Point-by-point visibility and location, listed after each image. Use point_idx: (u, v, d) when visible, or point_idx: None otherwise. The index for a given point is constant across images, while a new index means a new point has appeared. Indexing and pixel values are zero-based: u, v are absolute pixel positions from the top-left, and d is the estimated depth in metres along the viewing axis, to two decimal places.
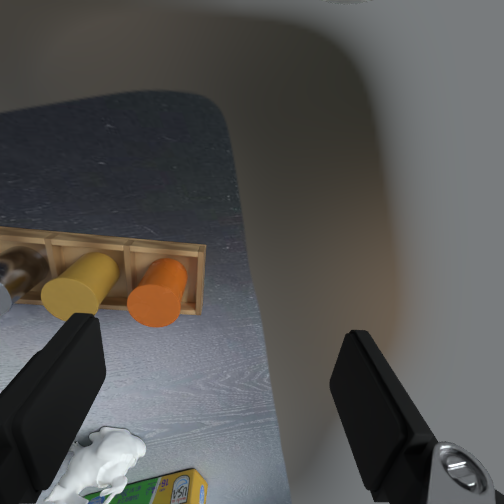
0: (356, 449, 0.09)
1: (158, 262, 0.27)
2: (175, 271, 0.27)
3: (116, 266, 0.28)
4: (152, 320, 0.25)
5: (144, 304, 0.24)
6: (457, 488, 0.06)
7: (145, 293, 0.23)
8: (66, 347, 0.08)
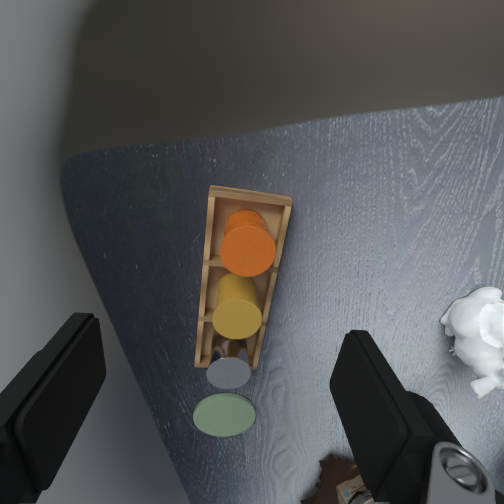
0: (356, 449, 0.09)
1: None
2: (229, 222, 0.25)
3: (231, 273, 0.29)
4: (265, 256, 0.23)
5: (244, 260, 0.23)
6: (457, 488, 0.06)
7: (230, 258, 0.22)
8: (66, 347, 0.08)
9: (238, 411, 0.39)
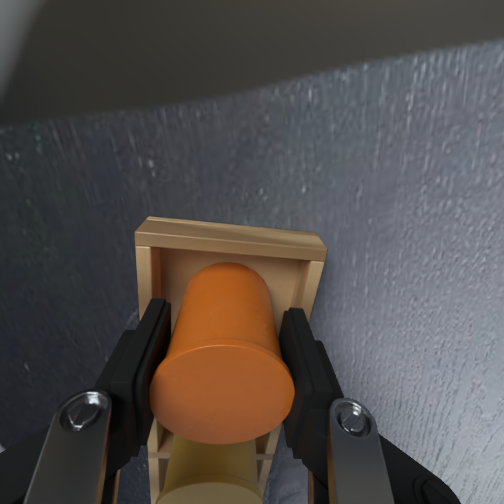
0: None
1: None
2: (186, 299, 0.11)
3: None
4: (269, 405, 0.09)
5: (214, 417, 0.09)
6: (352, 439, 0.07)
7: (178, 413, 0.09)
8: (155, 325, 0.09)
9: None
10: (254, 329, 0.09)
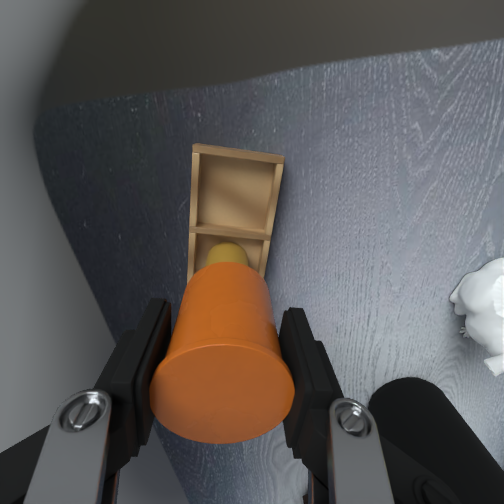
0: None
1: None
2: (185, 299, 0.11)
3: (221, 243, 0.27)
4: (268, 405, 0.09)
5: (214, 416, 0.09)
6: (352, 439, 0.07)
7: (178, 412, 0.09)
8: (155, 325, 0.09)
9: None
10: (254, 328, 0.09)
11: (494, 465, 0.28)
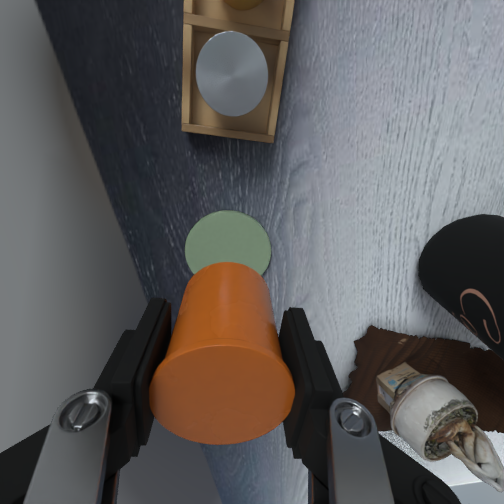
0: None
1: None
2: (186, 299, 0.11)
3: None
4: (269, 406, 0.09)
5: (214, 417, 0.09)
6: (352, 439, 0.07)
7: (178, 413, 0.09)
8: (155, 325, 0.09)
9: (247, 241, 0.28)
10: (254, 329, 0.09)
11: None
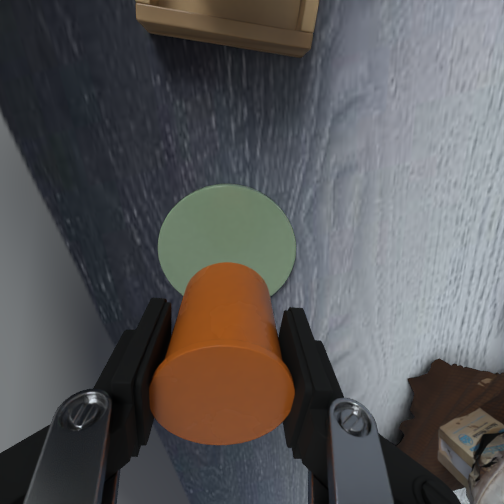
0: None
1: None
2: (185, 300, 0.11)
3: None
4: (268, 406, 0.09)
5: (214, 417, 0.09)
6: (352, 439, 0.07)
7: (178, 413, 0.09)
8: (155, 325, 0.09)
9: (257, 236, 0.17)
10: (254, 329, 0.09)
11: None
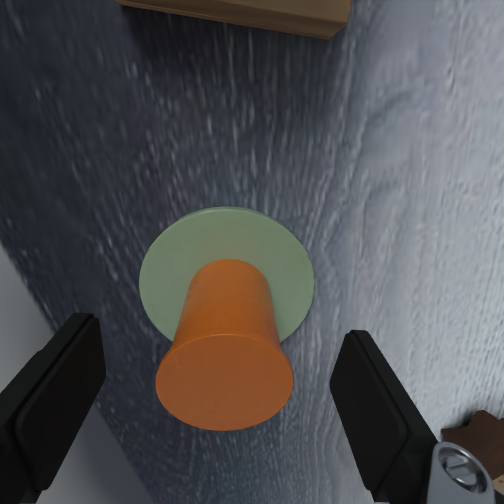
0: (356, 449, 0.09)
1: None
2: (190, 294, 0.12)
3: None
4: (269, 393, 0.09)
5: (217, 403, 0.09)
6: (457, 488, 0.06)
7: (184, 399, 0.09)
8: (66, 347, 0.08)
9: (266, 271, 0.14)
10: (255, 321, 0.09)
11: None
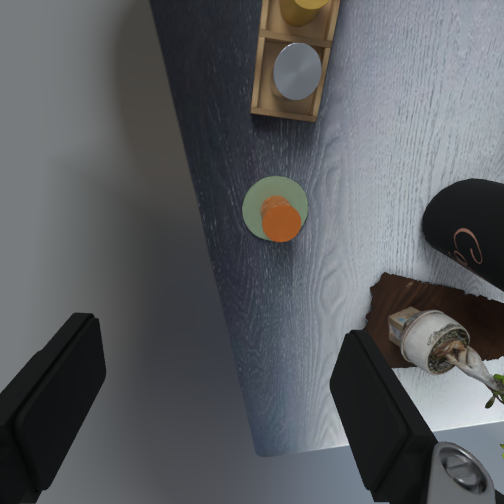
0: (356, 448, 0.09)
1: None
2: (265, 204, 0.35)
3: None
4: (294, 226, 0.32)
5: (279, 230, 0.32)
6: (457, 488, 0.06)
7: (269, 228, 0.32)
8: (66, 347, 0.08)
9: (290, 200, 0.36)
10: (290, 206, 0.32)
11: None
